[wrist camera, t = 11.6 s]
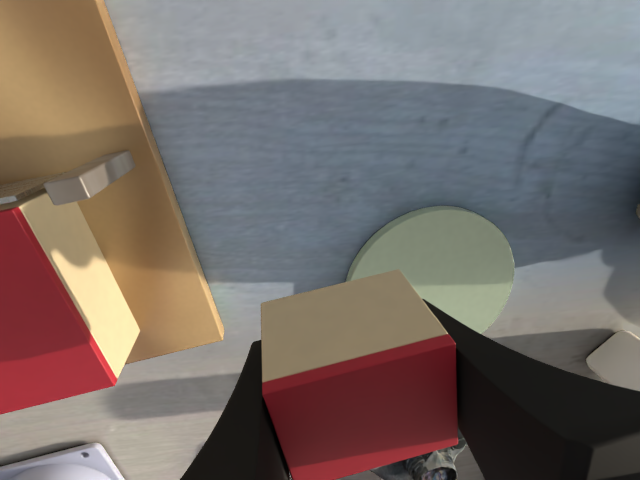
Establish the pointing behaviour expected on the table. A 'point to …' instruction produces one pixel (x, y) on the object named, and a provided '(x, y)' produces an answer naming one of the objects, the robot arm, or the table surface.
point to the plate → (445, 261)
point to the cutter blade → (23, 188)
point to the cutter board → (101, 163)
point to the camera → (425, 465)
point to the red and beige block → (56, 306)
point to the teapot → (638, 210)
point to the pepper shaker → (618, 360)
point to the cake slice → (357, 377)
